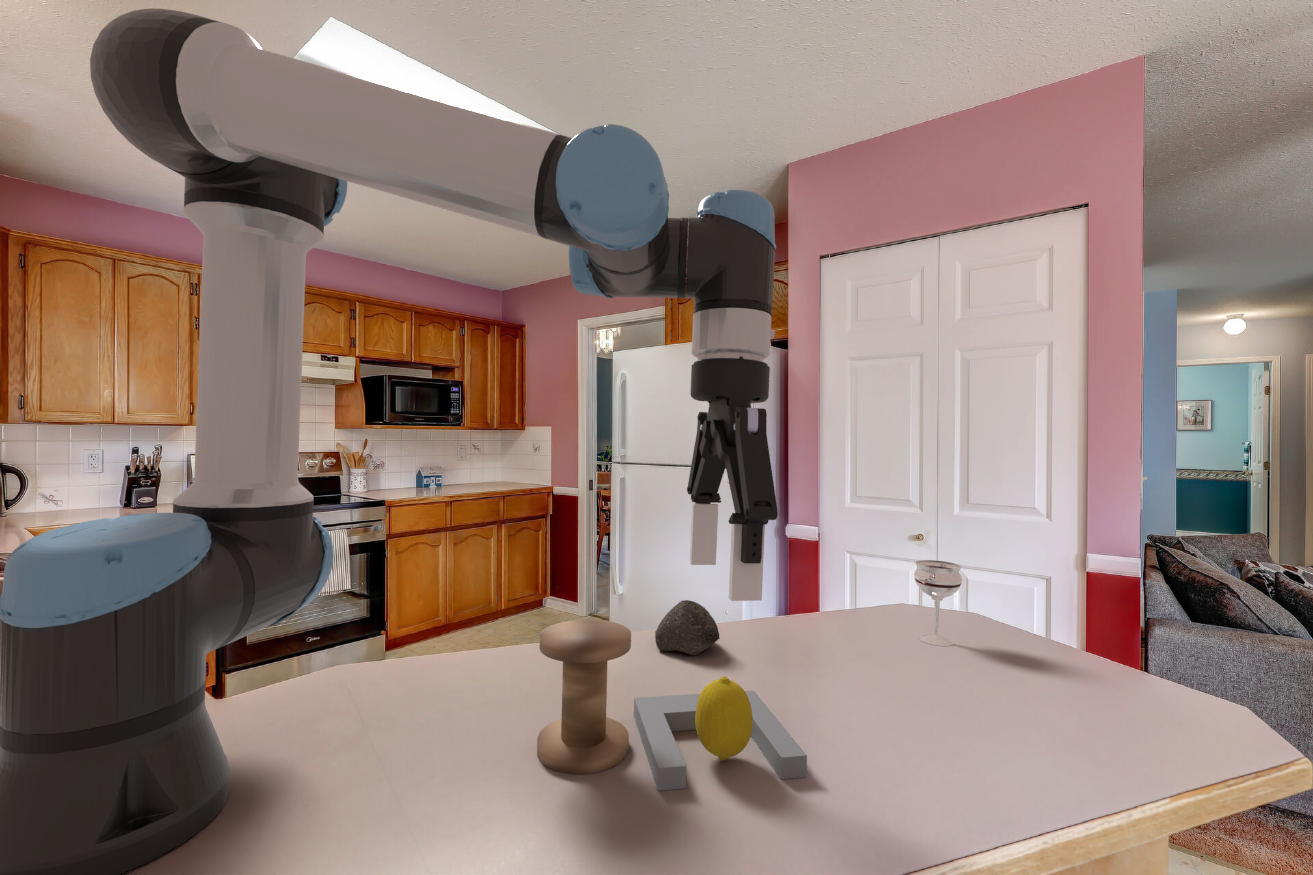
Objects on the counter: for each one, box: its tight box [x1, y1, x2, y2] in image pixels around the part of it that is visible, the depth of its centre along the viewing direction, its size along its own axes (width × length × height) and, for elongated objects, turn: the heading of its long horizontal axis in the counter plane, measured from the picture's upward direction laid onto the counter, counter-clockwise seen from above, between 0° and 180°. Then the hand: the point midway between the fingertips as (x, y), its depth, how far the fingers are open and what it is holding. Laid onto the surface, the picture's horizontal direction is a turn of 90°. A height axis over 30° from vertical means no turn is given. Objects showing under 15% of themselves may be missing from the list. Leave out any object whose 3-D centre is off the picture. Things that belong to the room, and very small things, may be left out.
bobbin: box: [536, 619, 632, 775], centre depth 58 cm, size 9×9×11 cm
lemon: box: [695, 676, 753, 762], centre depth 57 cm, size 6×6×8 cm
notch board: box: [633, 690, 808, 792], centre depth 60 cm, size 14×14×2 cm
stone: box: [654, 599, 720, 656], centre depth 87 cm, size 10×8×10 cm
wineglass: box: [914, 559, 963, 647], centre depth 93 cm, size 7×7×12 cm
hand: (721, 580), depth 57 cm, fingers open, 13 cm apart
